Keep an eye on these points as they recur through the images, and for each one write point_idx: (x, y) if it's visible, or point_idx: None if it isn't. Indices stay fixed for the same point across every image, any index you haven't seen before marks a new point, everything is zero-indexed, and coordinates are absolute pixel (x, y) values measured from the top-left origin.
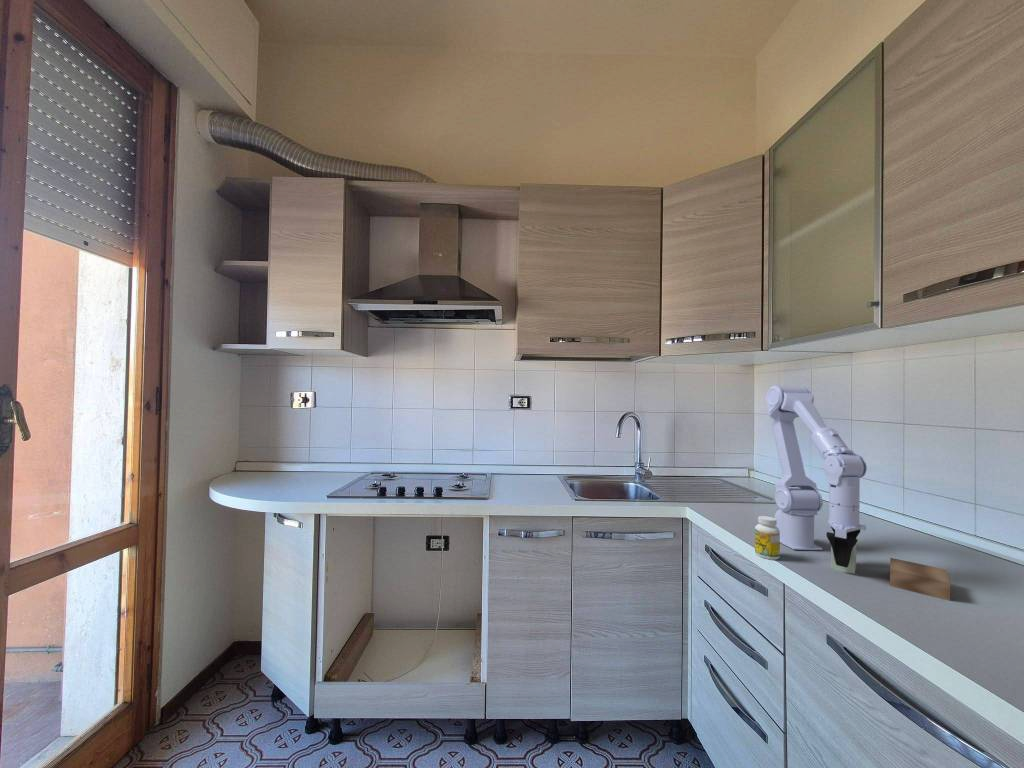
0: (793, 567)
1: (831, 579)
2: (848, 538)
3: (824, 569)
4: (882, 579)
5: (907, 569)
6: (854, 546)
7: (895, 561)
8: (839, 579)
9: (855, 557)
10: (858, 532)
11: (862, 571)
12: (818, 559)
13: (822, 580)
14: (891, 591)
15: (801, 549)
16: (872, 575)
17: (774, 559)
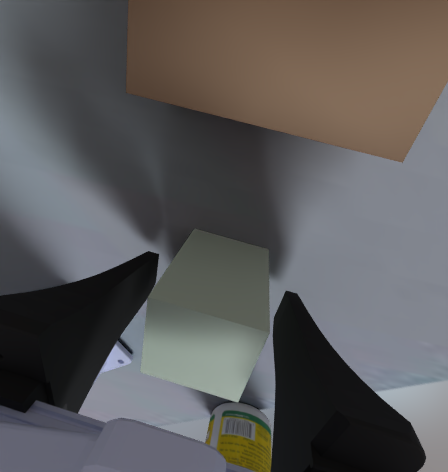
0: None
1: (373, 331)
2: (355, 464)
3: None
4: (279, 159)
5: (362, 29)
6: (232, 325)
7: (198, 78)
8: (361, 310)
9: (221, 270)
10: (55, 330)
11: (216, 214)
12: None
13: (396, 356)
14: (438, 162)
15: (118, 342)
16: (246, 188)
17: (264, 415)
